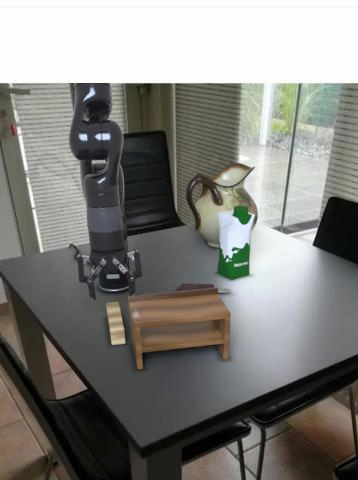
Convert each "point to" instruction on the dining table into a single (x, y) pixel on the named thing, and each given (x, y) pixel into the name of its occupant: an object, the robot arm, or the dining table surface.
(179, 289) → the ice cream bar
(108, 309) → the beech stick
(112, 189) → the robot arm
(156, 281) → the dining table surface
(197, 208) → the pitcher
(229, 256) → the milk carton
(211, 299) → the shelf
